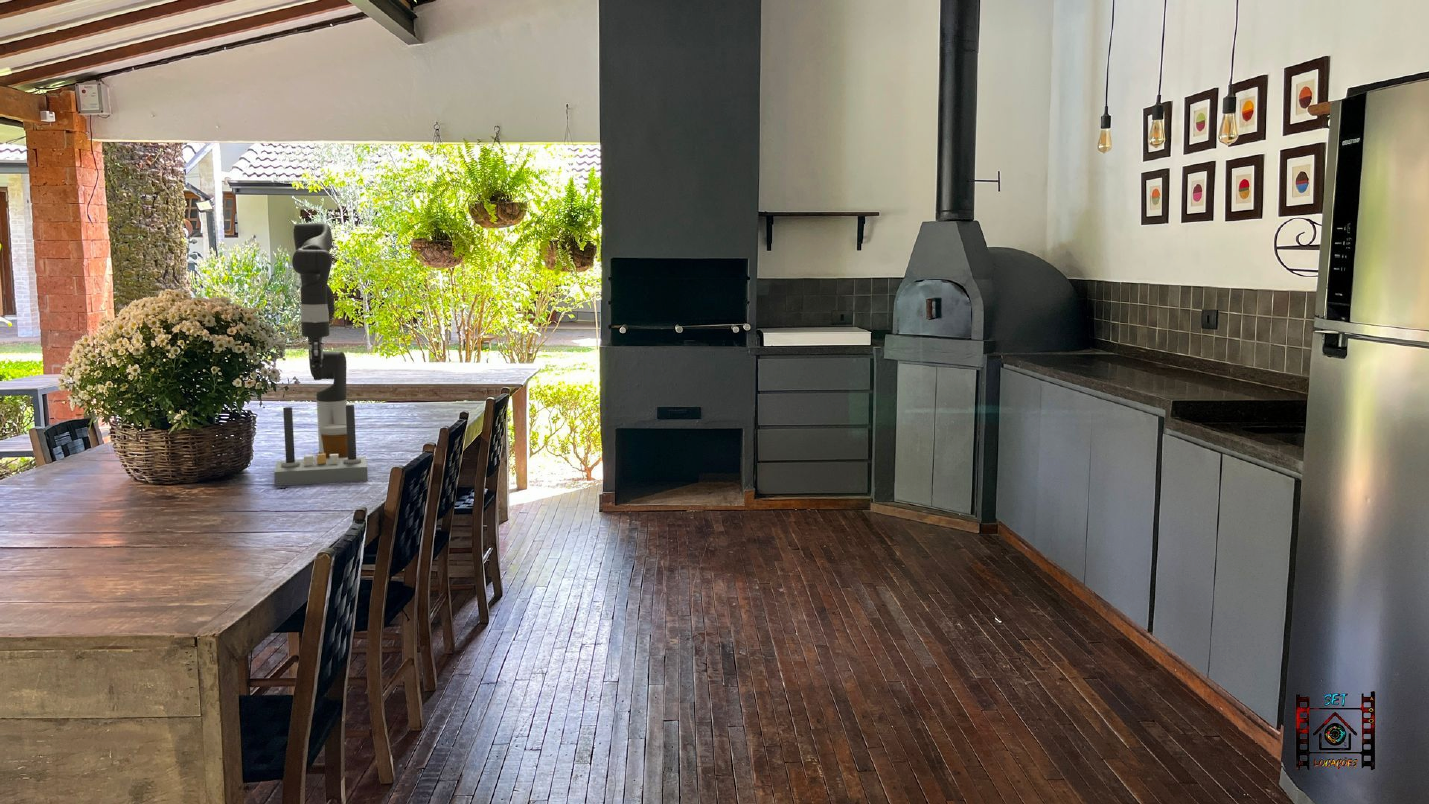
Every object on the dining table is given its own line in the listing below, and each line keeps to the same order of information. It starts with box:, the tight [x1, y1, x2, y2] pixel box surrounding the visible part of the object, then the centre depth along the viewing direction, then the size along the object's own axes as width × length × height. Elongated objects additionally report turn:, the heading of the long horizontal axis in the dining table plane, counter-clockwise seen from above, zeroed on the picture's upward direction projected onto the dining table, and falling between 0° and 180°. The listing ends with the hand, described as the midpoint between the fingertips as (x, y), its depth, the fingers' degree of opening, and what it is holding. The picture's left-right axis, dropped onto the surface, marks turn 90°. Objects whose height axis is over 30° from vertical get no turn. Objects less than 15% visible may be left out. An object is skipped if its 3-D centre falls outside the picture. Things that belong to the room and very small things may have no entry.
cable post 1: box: [281, 406, 300, 467], centre depth 312 cm, size 5×5×17 cm
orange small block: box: [316, 453, 326, 464], centre depth 315 cm, size 2×2×3 cm
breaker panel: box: [273, 454, 368, 487], centre depth 316 cm, size 16×25×7 cm, turn 109°
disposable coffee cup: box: [319, 424, 348, 459], centre depth 334 cm, size 10×10×12 cm
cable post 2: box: [343, 404, 361, 464], centre depth 317 cm, size 5×5×17 cm
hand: (317, 379), depth 312 cm, fingers closed
